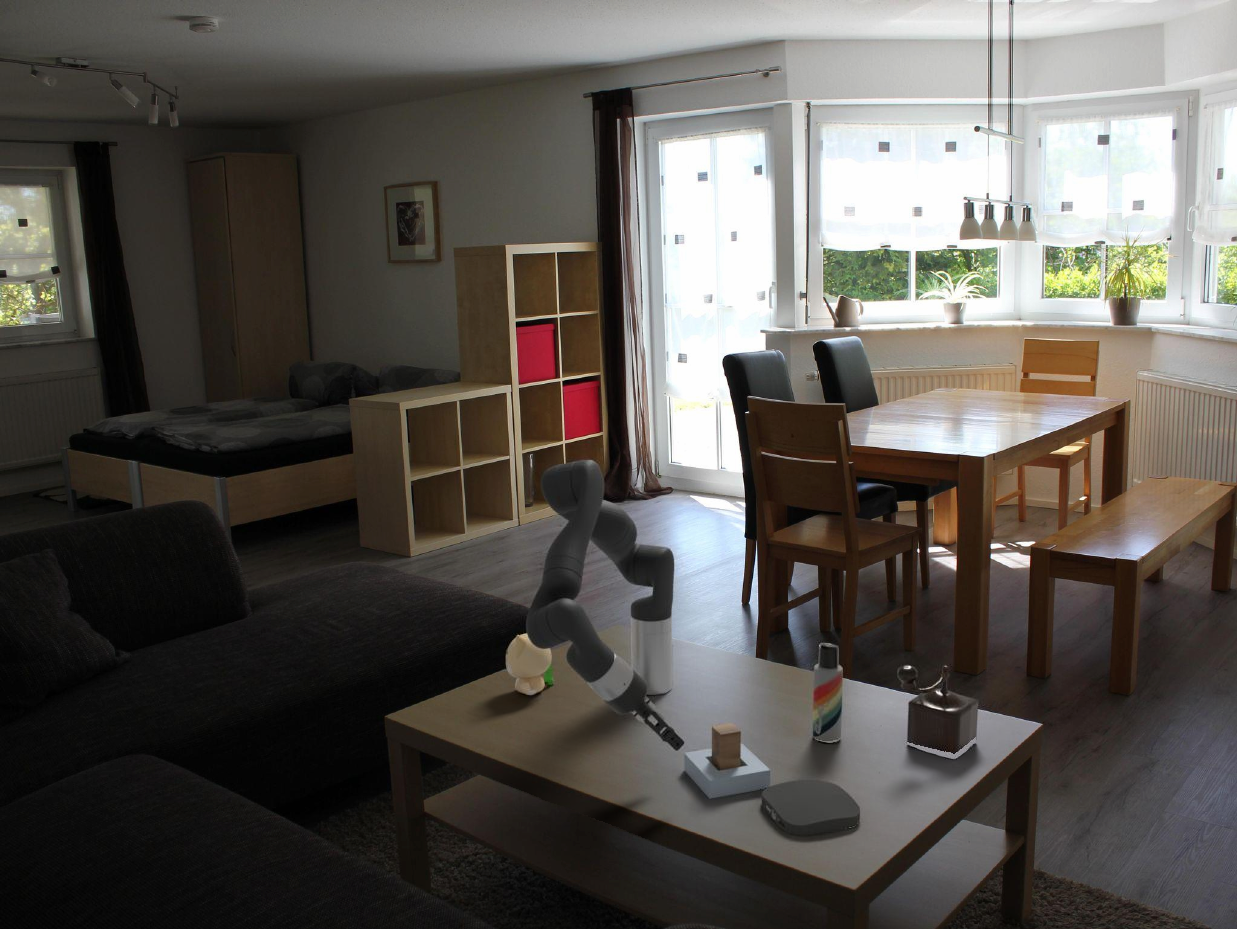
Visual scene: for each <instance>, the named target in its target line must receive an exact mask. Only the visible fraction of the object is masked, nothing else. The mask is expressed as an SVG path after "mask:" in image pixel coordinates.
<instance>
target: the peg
mask: <svg viewBox="0 0 1237 929" xmlns="http://www.w3.org/2000/svg"><path fill="white" fill-rule="evenodd" d="M741 733H742V731H741V730H740V729H739V728H738V727H736V725H735V724H733V723H732V722H728V723H722V724H716V725H711V748H712V765H713V766H714V767H715V768H716V769H717V770H718V771H720V770H726V769H731V768H737V767H741V743H742V739H741V738H742V737H741V736H742V734H741Z"/></svg>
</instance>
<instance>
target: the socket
mask: <svg viewBox="0 0 1237 929" xmlns="http://www.w3.org/2000/svg"><path fill="white" fill-rule="evenodd" d="M683 757H684V760H683V761H684V766H683V768H684V772H685V773H686V774H687V775H688V777H690V778H691V780H692V781H693V782H694V783H695V784H696V785H697V786H698V787H699V788H700V789H701V791H702V792H703V793H704V794H705V795H706V797H707V798H708V799H710V800H711V799H716V798H721V797H727V796H732V795H739V794H743V793H749V792H754V791H755V792H756V791H759V790H760V789H761V790H765V788H766V789H767V788H768V787H770V786H771V769H770V768H769V767H768V766H767V765H765V763H763V761H762V760H760V759H759V757H757V756H756V755H755V754H754V753H753V752H752V751H751V750H750V749H748V747H746V745H744V744H743V743H742V742H741V767H737V768H731V769H726V770H720V771H718V770H717V769H716V768H715V767H714V766H713V765H712V747H711V748H705V749H699V750H694V751H689V752H688V751H687V752H684V754H683Z"/></svg>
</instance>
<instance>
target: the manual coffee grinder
mask: <svg viewBox="0 0 1237 929" xmlns="http://www.w3.org/2000/svg"><path fill="white" fill-rule="evenodd" d="M941 670H942V672H941V676H940V678H939V679H938V680H937V681H936V682H935V683H934V684H933V685H932V686H927V687H926V688H920V687H919V688H918V687H917V684H916V682H915V680H916V679H917V678H918V670H917V668H916V667H915V666H912V665H910V664H904V665H902V666H899V667H898V669H897V675H896V676H897V679H899V680H900V681H901V686H900V687H901V689H903V690H904V691H909V692H910V691H911V692H914V693H918V695H917V696H916V697H914V698H912V699H911V700H909V701H908V705H907V706H908V707H907V708H908V710H907V712H908V714H907V732H906V733H907V736H906V738H907V740H906V743H907V742H909V743H913V744H915V745H920V746H924V747H928V748H932V749H937V750H940V751H944V752H945V751H946V752H951V753H953V754H955V753H956V752H958V751H959V750H960V749H962V748H963V747H964V746H965V745H967V744H968V743H969V742H970V741H971V740H973V739H974V738H975V737H976V738H977V733H978V732H977V728H978V717H979V715H978V714H979V700H978V699H975V698H973V697H969V696H966V695H961V694H958V693H955V692H952V691H951V690H948V678H950V673H949V671H950V667H949V665H943V666H942V668H941ZM940 686H941V688H939V687H940Z"/></svg>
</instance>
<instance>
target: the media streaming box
mask: <svg viewBox="0 0 1237 929" xmlns="http://www.w3.org/2000/svg"><path fill="white" fill-rule="evenodd" d="M761 807H762V808H763V810H764V811H765V812H766V813H767V815H768V816H769V817H770V818H771V820H772V821H774V822H775V824H776V825H777V826H778V827H779V828H780V829H781V830H782V831H783V830H784V832H785V833H787V834H790V835H793V836H799V837H806V836H808V835H809V836H814V835H815V834H816V835H820V833H822V834H826V833H825V832H828V833H832V831H834V832H837V831H836V830H839V831H842V830H841V829H844V830H846V829H845V828H849V827H853V826H855V825H856V824H857V823H858V822H859V820H861V819H860V818H861V809H860V808H861V807H860V806H859V804H858V803H857V802H856V800H855V799H854V798H853V797H852V796H851V795H850V794H849V793H848V792H847V791H846V790H845V789H843V787H841V786H840V785H837V784H836V783H832V782H830V781H827V780H821V779H798V780H797V779H796V780H789V781H785V782H780V783H778V784H773V785H770V787H768V788H766V789H763V791H762V792H761ZM859 823H860V822H859ZM855 827H856V826H855ZM853 828H854V827H853ZM849 829H850V828H849ZM816 835H815V836H816ZM809 836H808V837H809Z"/></svg>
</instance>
